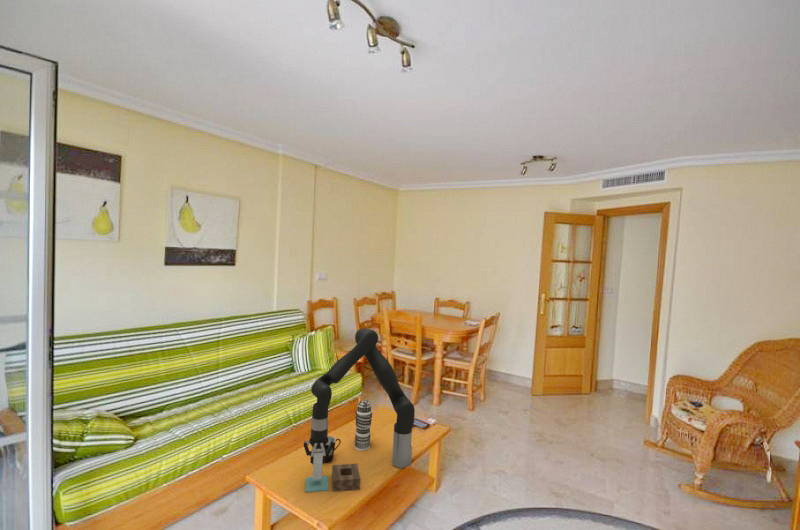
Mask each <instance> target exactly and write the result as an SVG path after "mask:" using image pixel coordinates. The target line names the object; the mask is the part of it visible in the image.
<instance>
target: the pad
mask: <svg viewBox="0 0 800 530" xmlns="http://www.w3.org/2000/svg"><path fill="white" fill-rule="evenodd" d="M304 489H305V490H304V492H305V493H317V492H328V491H329V475H322V479H313V476H307V477H305V488H304Z"/></svg>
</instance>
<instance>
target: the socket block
mask: <svg viewBox="0 0 800 530" xmlns="http://www.w3.org/2000/svg"><path fill="white" fill-rule="evenodd" d="M331 481H332V482H331V483H332V484H331V485H332V492H334V493H335V492H345V491H346V492H347V491H354V490H355V491H359V490H360V488H361V475H360V469H359V463H343V464H332V468H331Z"/></svg>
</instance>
